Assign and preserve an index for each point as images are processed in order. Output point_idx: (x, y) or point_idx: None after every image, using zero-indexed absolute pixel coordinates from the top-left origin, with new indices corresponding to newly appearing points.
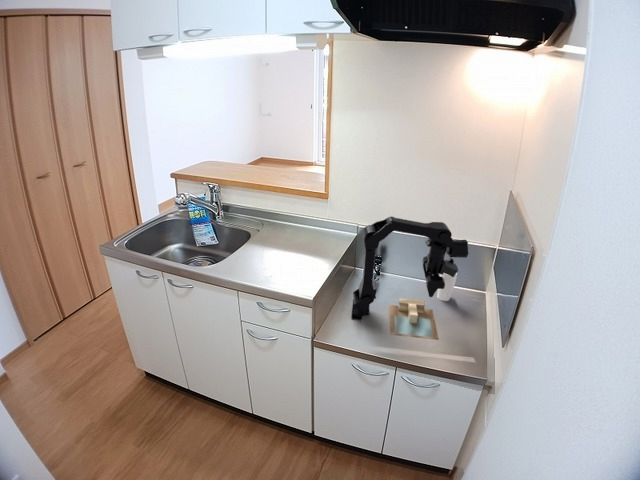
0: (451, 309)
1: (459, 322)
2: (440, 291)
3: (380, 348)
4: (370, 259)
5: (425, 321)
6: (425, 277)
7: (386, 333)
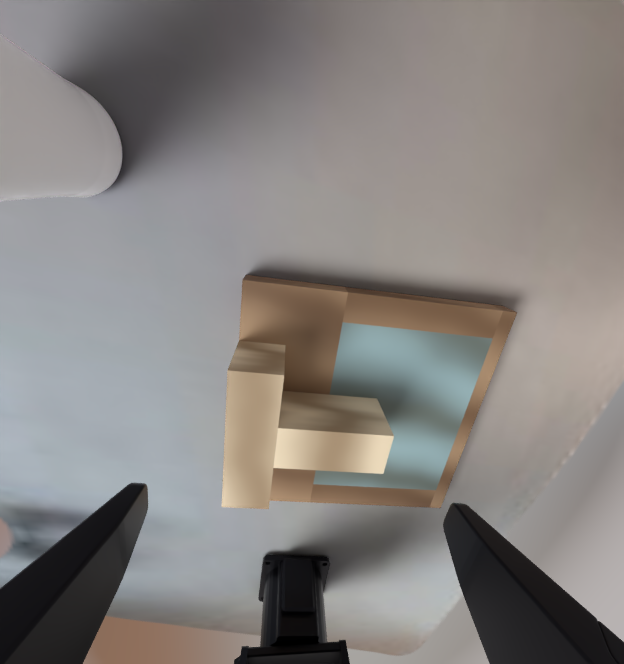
0: (192, 107)
1: (345, 97)
2: (43, 187)
3: None
4: None
5: (363, 348)
6: (87, 652)
7: None
